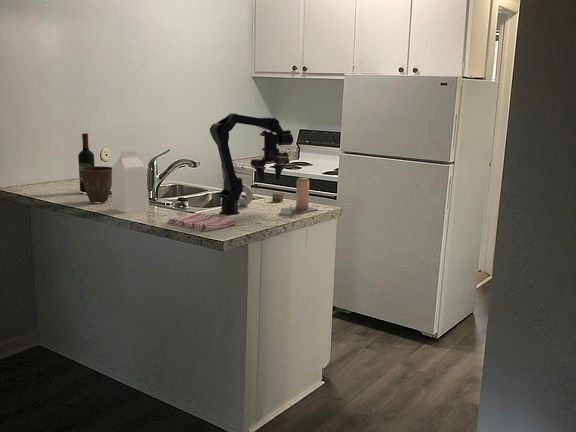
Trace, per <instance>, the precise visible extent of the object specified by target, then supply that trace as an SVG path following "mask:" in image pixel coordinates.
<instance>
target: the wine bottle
mask: <svg viewBox="0 0 576 432" xmlns="http://www.w3.org/2000/svg"><path fill="white" fill-rule="evenodd" d="M81 138H82V150H81V151H80V152H79V153H78V156H77V159H78V176H79V177H78V178H79V179H78V180H79V192H80V191H82V192H86V190H85V187H84V183H83V179H82V175H81V168H84V167H96V166H95V165H96V164H95V154H94V152H92V151H91V150H90V148H89V133H85V132H84V133H81Z"/></svg>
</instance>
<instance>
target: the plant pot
mask: <svg viewBox="0 0 576 432" xmlns="http://www.w3.org/2000/svg"><path fill="white" fill-rule="evenodd" d="M112 167H113V166H112ZM112 167H111V166H95V167H84V168H81V175H82V179H83V183H84V187H85V190H86V193H87V194H86V195H87V197H88V198H87V199H88V200H89V202H90V201H91V202H105V201H107V202H108V199H109V197H110V194H111V191H112ZM91 202H90V203H91Z"/></svg>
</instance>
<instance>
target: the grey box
mask: <svg viewBox="0 0 576 432" xmlns="http://www.w3.org/2000/svg"><path fill="white" fill-rule="evenodd" d="M292 208H293V206H292V205H282V206H281V207H280V215H291V214H292V212H293V211H292Z"/></svg>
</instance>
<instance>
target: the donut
mask: <svg viewBox="0 0 576 432" xmlns="http://www.w3.org/2000/svg"><path fill="white" fill-rule="evenodd" d="M242 184H243V186H244V187H242V188H243V192H244V193H245V198H243V197H242V194H241V195H240V197H239V200H238V201H237V202H238V205H240V206H244V207H246V206H248V205H250V204H251V203H252V202H253V200H254V192H253V190H252V189H251V187H250V186H249V185H248V184H244V183H242ZM243 192H242V193H243Z"/></svg>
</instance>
